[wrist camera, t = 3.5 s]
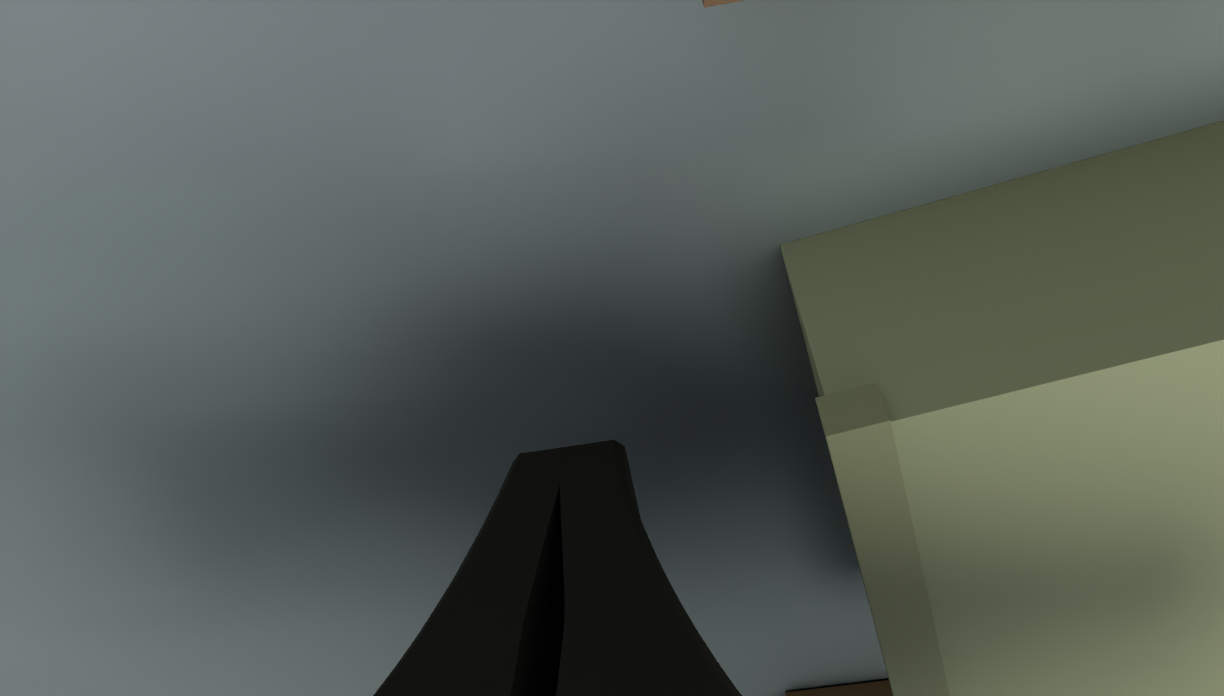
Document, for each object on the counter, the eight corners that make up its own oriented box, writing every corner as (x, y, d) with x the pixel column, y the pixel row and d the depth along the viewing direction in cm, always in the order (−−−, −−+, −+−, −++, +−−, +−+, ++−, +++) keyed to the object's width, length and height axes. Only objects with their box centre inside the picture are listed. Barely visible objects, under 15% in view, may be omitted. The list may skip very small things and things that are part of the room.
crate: (1348, 458, 15) (1563, 692, 12) (857, 569, 16) (924, 810, 13) (1384, 58, 12) (1695, 221, 9) (767, 232, 13) (825, 436, 10)
